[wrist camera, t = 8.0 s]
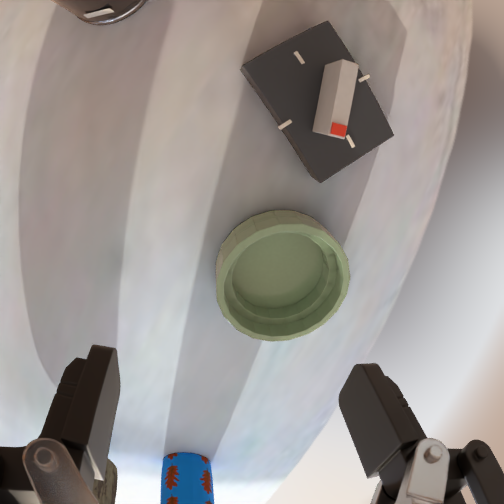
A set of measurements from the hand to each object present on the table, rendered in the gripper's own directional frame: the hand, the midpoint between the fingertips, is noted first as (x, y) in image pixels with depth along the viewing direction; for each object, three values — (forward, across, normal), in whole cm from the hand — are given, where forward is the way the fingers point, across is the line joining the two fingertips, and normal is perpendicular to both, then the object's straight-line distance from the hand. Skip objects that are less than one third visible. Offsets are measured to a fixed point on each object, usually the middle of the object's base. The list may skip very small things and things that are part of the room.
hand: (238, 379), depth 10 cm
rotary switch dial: (+26, -8, -11) cm, 30 cm away
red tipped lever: (+23, -8, -11) cm, 27 cm away
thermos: (+26, 0, +59) cm, 64 cm away
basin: (+26, -8, +9) cm, 29 cm away
